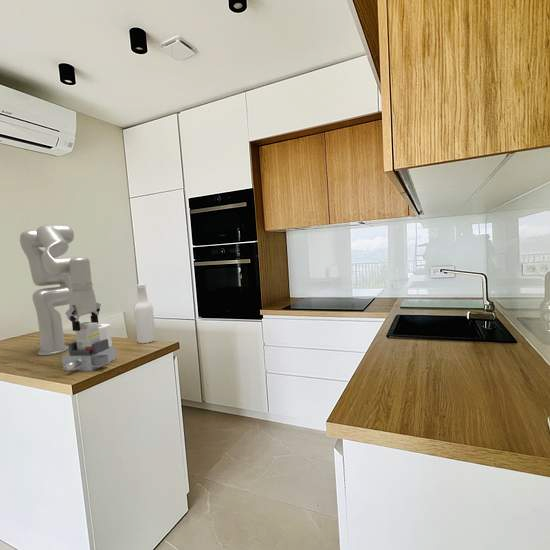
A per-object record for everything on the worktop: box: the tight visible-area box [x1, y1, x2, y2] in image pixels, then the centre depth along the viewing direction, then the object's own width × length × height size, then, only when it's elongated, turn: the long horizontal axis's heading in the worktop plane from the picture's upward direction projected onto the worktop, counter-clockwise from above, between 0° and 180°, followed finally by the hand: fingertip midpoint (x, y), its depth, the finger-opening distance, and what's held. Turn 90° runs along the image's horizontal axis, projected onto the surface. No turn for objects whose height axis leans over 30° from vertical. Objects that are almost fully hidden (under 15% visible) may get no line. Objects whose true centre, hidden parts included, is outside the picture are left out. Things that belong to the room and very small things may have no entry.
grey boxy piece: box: [61, 339, 118, 372], centre depth 136 cm, size 18×18×10 cm
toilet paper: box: [98, 323, 113, 346], centre depth 158 cm, size 10×10×12 cm
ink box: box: [74, 321, 100, 352], centre depth 138 cm, size 9×5×12 cm, turn 68°
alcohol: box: [134, 283, 157, 344], centre depth 168 cm, size 9×9×30 cm
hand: (86, 327), depth 137 cm, fingers open, 9 cm apart
